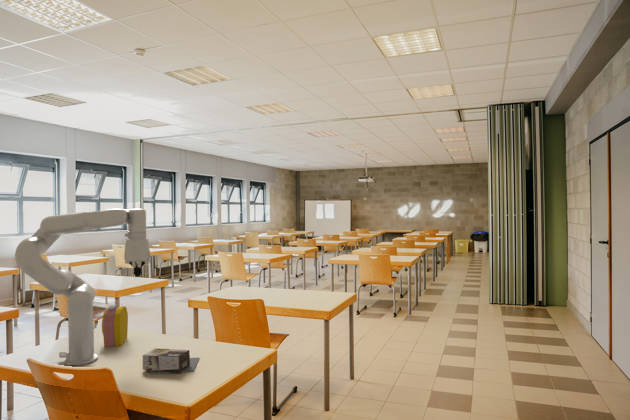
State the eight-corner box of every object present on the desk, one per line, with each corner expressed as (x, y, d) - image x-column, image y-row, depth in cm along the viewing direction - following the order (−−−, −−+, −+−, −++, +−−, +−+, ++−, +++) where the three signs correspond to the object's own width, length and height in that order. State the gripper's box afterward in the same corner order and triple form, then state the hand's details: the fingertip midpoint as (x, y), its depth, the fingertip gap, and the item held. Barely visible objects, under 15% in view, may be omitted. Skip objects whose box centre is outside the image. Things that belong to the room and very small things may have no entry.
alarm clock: (110, 338, 212) (110, 302, 212) (128, 337, 214) (127, 301, 214) (101, 348, 198) (100, 309, 198) (119, 346, 199) (119, 308, 199)
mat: (149, 374, 166) (149, 373, 166) (158, 360, 180) (158, 359, 180) (193, 371, 168) (193, 370, 168) (199, 358, 183) (199, 357, 183)
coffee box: (142, 370, 168) (178, 373, 165) (142, 354, 168) (178, 356, 165) (155, 363, 177) (190, 365, 174) (155, 347, 177) (190, 349, 174)
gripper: (117, 236, 185) (117, 278, 185) (152, 236, 187) (152, 277, 187) (122, 235, 193) (123, 275, 193) (156, 235, 194) (156, 274, 194)
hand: (137, 276), depth 190 cm, fingers closed
